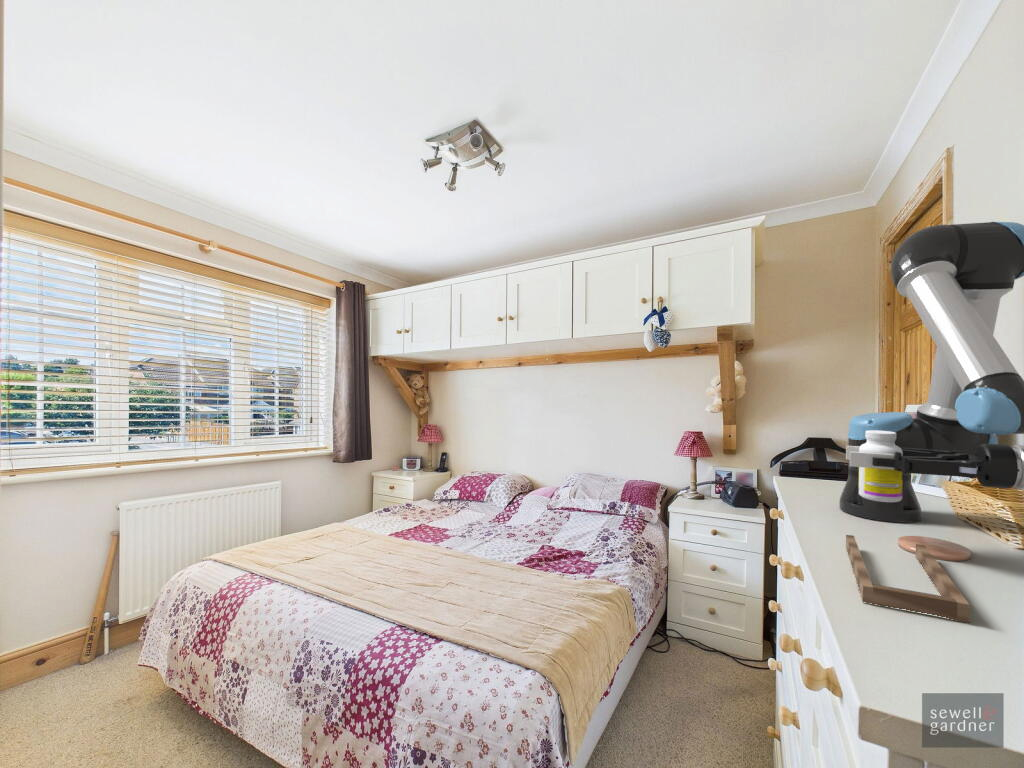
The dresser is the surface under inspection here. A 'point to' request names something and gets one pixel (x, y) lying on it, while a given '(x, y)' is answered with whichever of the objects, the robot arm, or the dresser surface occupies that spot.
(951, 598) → the walnut channel
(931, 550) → the pink round coaster
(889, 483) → the supplement bottle
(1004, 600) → the dresser surface
